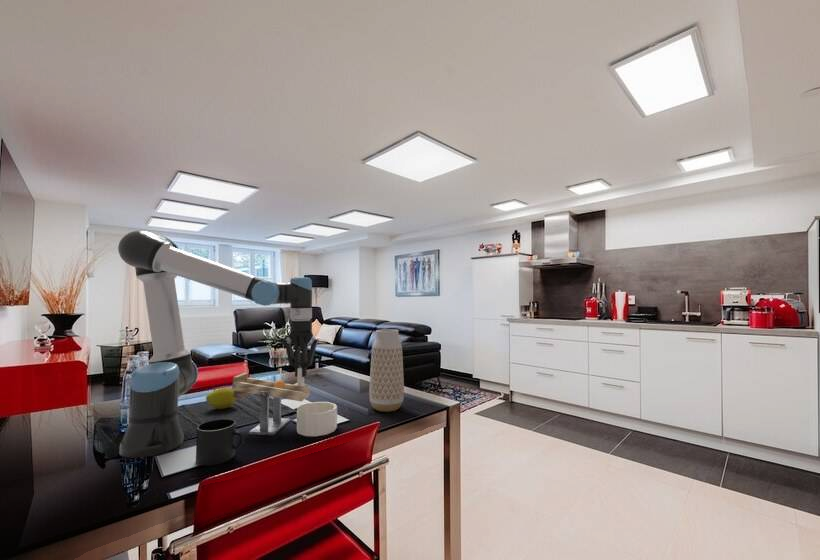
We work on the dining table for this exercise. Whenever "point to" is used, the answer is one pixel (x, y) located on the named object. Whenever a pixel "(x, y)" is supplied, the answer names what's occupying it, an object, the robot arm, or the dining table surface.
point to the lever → (267, 388)
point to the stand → (268, 424)
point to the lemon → (221, 398)
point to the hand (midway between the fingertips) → (300, 385)
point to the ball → (279, 384)
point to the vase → (386, 371)
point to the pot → (316, 418)
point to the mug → (216, 441)
